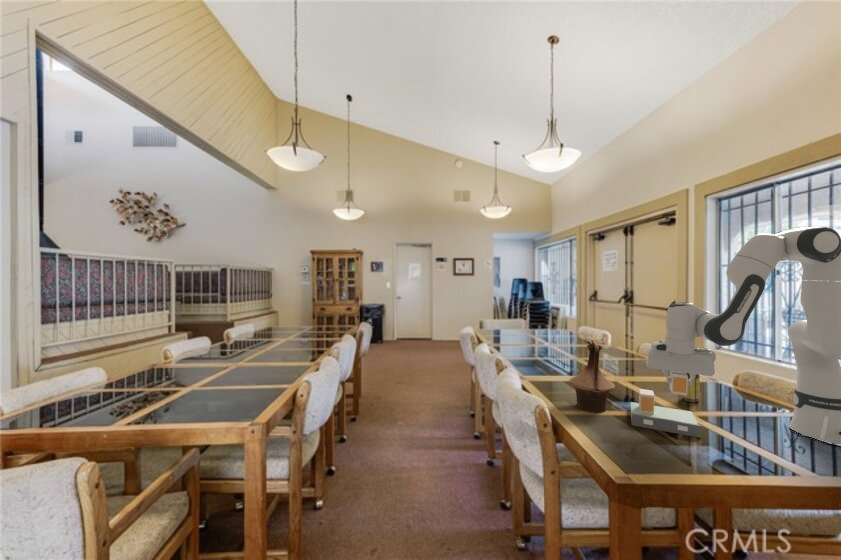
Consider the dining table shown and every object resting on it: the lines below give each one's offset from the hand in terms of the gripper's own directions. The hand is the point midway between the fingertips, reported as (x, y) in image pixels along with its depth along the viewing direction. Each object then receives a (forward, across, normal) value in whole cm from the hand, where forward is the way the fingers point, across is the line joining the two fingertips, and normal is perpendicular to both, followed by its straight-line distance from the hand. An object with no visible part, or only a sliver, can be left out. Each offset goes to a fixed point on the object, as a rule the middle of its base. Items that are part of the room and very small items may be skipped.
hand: (678, 383), depth 131 cm
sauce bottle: (+15, -8, -31) cm, 35 cm away
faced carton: (+12, +10, 0) cm, 15 cm away
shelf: (+15, +5, +1) cm, 16 cm away
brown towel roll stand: (+15, +29, -1) cm, 32 cm away
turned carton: (+3, 0, 0) cm, 3 cm away
